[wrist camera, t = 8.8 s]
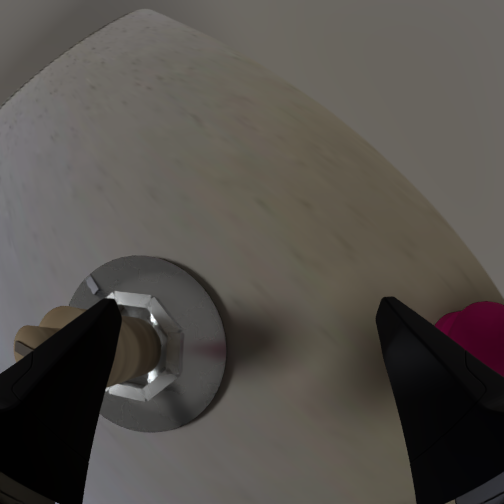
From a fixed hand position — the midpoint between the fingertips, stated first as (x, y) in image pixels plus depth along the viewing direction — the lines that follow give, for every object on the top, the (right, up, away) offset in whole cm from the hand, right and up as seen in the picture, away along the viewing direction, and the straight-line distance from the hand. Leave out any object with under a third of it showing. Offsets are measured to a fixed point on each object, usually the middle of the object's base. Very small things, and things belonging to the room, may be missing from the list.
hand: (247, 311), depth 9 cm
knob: (-9, -6, +12) cm, 16 cm away
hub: (-9, -6, +13) cm, 17 cm away
